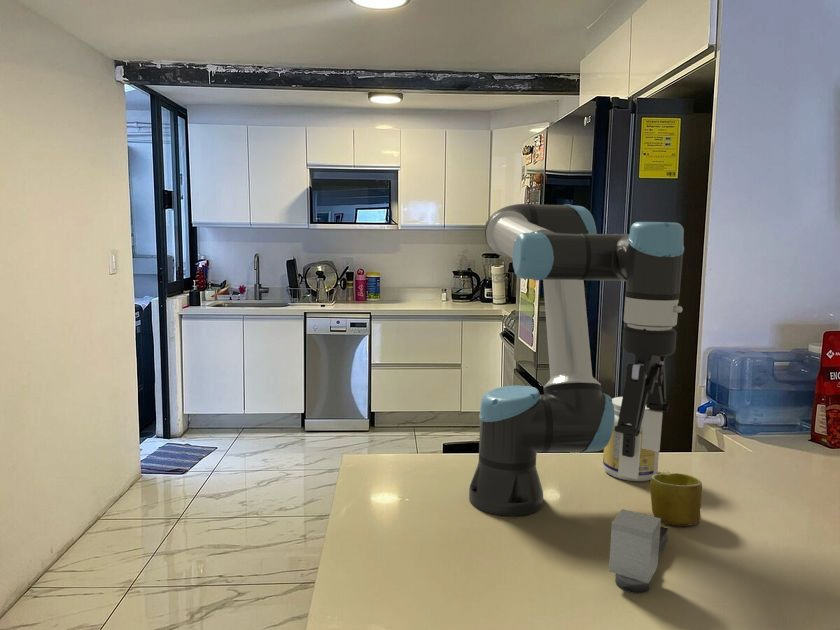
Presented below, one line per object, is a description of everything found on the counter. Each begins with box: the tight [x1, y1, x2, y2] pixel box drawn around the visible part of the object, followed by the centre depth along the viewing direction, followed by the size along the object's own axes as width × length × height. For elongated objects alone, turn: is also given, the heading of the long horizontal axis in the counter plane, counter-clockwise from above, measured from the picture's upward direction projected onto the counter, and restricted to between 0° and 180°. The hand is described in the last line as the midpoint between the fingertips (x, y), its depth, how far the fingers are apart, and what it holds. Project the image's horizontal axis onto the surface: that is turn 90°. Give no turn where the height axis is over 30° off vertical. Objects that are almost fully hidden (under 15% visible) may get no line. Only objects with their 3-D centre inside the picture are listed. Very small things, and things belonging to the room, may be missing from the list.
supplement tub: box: [602, 396, 660, 482], centre depth 145 cm, size 12×12×17 cm
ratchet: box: [614, 525, 669, 594], centre depth 105 cm, size 21×5×6 cm, turn 147°
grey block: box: [608, 508, 662, 584], centre depth 98 cm, size 6×6×8 cm
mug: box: [649, 470, 703, 527], centre depth 123 cm, size 12×10×10 cm
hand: (639, 462), depth 97 cm, fingers open, 13 cm apart
